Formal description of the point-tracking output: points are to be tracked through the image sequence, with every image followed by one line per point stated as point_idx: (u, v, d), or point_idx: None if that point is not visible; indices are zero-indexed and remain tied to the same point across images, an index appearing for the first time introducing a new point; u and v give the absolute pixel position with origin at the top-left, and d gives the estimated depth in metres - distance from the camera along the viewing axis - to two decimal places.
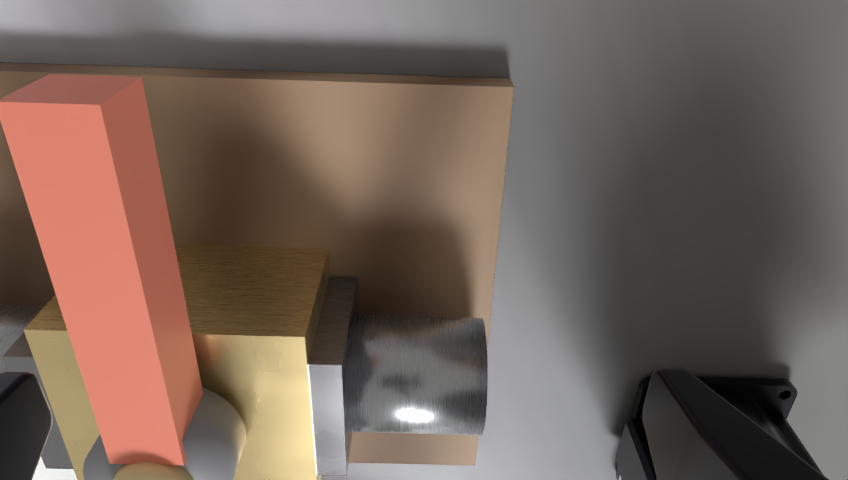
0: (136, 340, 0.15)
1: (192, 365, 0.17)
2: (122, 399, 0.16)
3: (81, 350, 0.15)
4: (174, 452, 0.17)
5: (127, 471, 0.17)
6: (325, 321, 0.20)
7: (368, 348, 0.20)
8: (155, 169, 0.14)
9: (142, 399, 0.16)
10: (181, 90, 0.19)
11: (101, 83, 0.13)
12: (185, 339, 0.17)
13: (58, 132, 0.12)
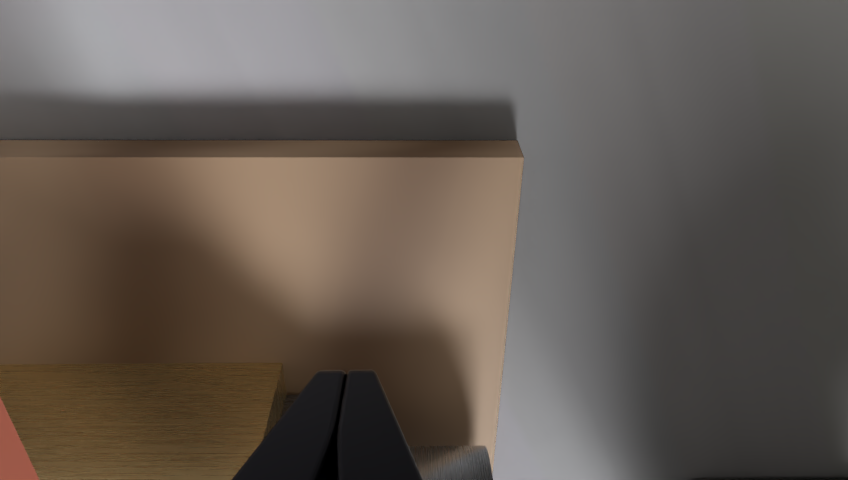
0: None
1: None
2: None
3: None
4: None
5: None
6: None
7: None
8: None
9: None
10: (59, 175, 0.14)
11: None
12: None
13: None
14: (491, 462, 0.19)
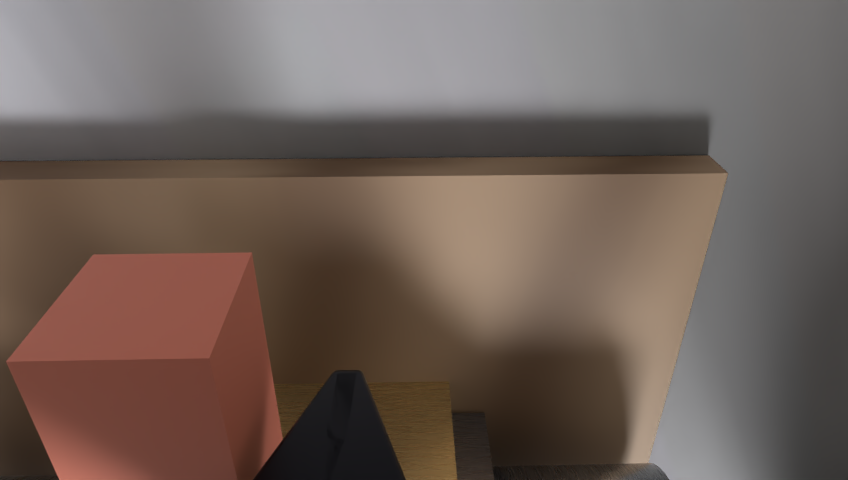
0: None
1: None
2: None
3: None
4: None
5: None
6: None
7: None
8: (269, 386, 0.09)
9: None
10: (257, 195, 0.14)
11: (190, 279, 0.07)
12: None
13: (129, 403, 0.06)
14: None
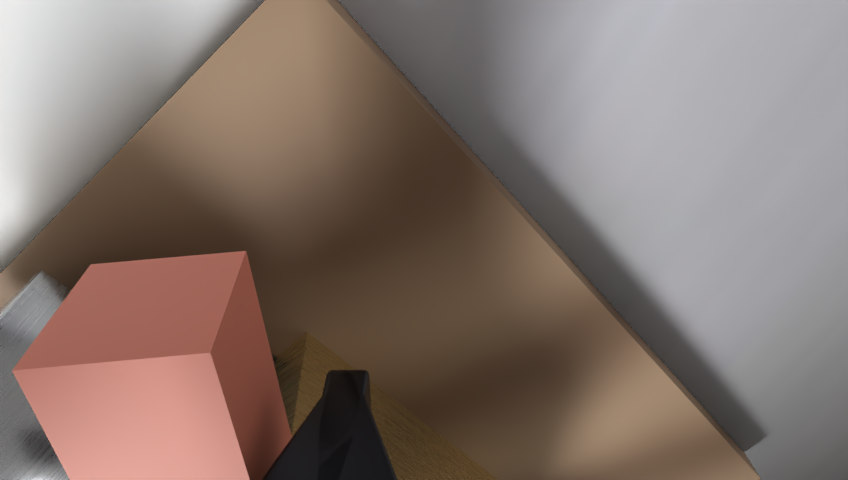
0: None
1: None
2: None
3: None
4: None
5: None
6: None
7: None
8: (273, 382, 0.09)
9: None
10: (569, 293, 0.16)
11: (186, 280, 0.08)
12: None
13: (135, 402, 0.07)
14: None
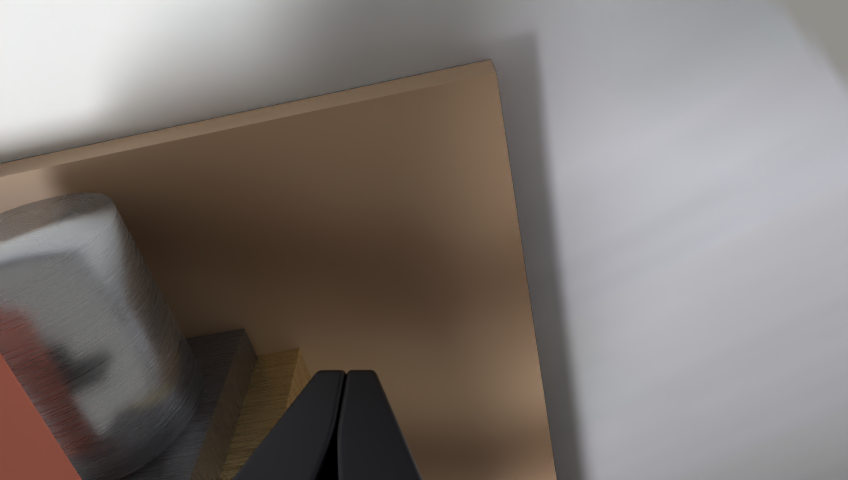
0: None
1: None
2: None
3: None
4: None
5: None
6: None
7: None
8: (4, 383, 0.09)
9: None
10: (530, 412, 0.17)
11: None
12: None
13: None
14: None
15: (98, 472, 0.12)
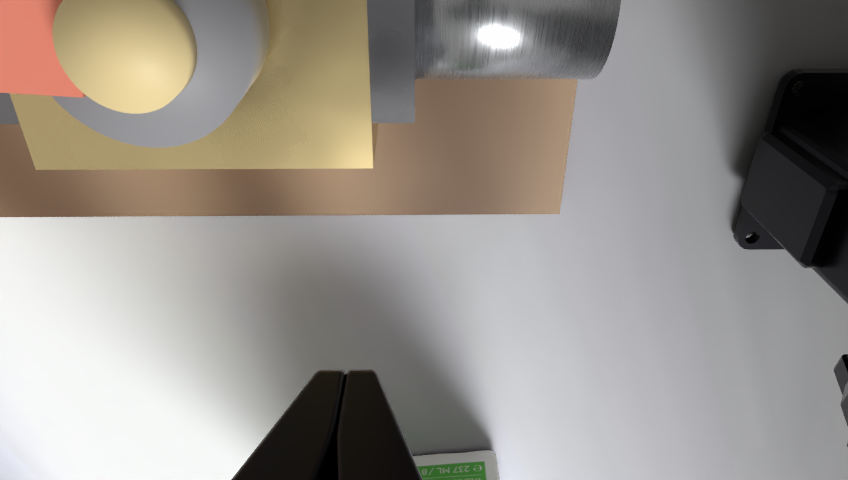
0: None
1: None
2: None
3: None
4: None
5: (68, 69, 0.11)
6: None
7: None
8: None
9: None
10: None
11: None
12: None
13: None
14: None
15: None
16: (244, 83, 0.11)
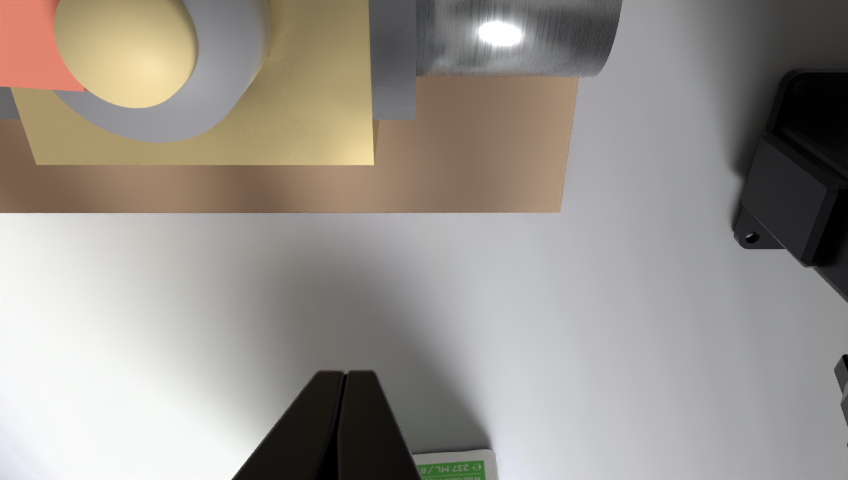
0: None
1: None
2: None
3: None
4: None
5: (69, 63, 0.11)
6: None
7: None
8: None
9: None
10: None
11: None
12: None
13: None
14: None
15: None
16: (245, 78, 0.11)
